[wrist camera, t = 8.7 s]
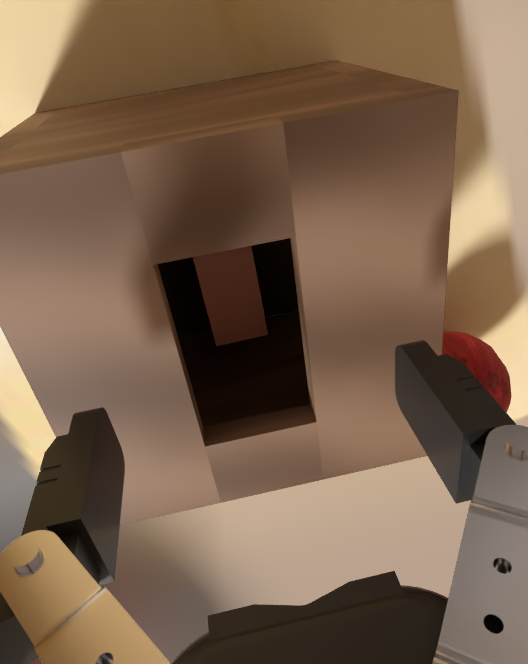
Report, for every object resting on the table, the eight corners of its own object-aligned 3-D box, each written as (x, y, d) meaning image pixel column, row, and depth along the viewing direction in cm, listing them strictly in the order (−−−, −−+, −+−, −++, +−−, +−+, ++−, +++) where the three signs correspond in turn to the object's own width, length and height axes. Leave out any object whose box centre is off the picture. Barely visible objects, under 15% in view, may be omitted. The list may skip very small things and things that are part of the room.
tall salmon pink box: (208, 295, 27) (183, 195, 24) (252, 285, 27) (232, 184, 24) (216, 346, 23) (186, 232, 20) (267, 334, 23) (246, 219, 20)
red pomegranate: (367, 330, 30) (425, 421, 23) (459, 292, 29) (546, 372, 23) (390, 398, 33) (447, 496, 26) (473, 364, 32) (554, 454, 26)
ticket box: (34, 113, 21) (-70, 187, 12) (340, 59, 22) (465, 89, 13) (124, 361, 28) (102, 529, 19) (353, 314, 29) (439, 452, 20)
